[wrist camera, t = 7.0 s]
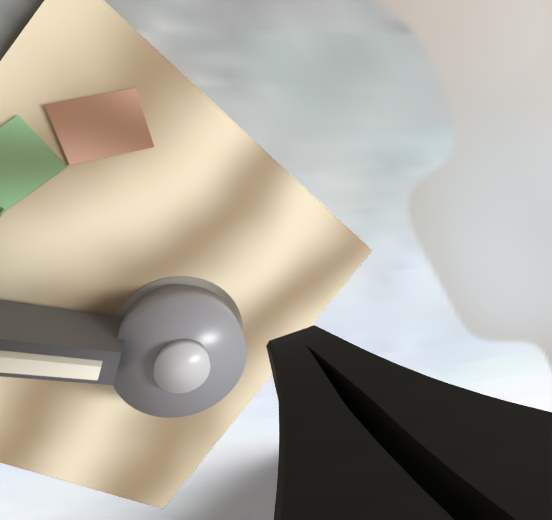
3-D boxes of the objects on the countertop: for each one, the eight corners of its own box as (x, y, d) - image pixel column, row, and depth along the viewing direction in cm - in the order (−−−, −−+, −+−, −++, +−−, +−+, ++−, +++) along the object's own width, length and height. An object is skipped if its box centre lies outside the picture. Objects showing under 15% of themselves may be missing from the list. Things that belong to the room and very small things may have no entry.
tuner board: (363, 246, 20) (374, 251, 19) (163, 493, 21) (163, 511, 20) (75, -20, 13) (66, -36, 12) (-215, 377, 14) (-247, 396, 13)
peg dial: (252, 297, 18) (271, 327, 14) (221, 394, 19) (231, 442, 16) (-32, 241, 13) (-93, 268, 10) (-50, 373, 14) (-110, 434, 11)
